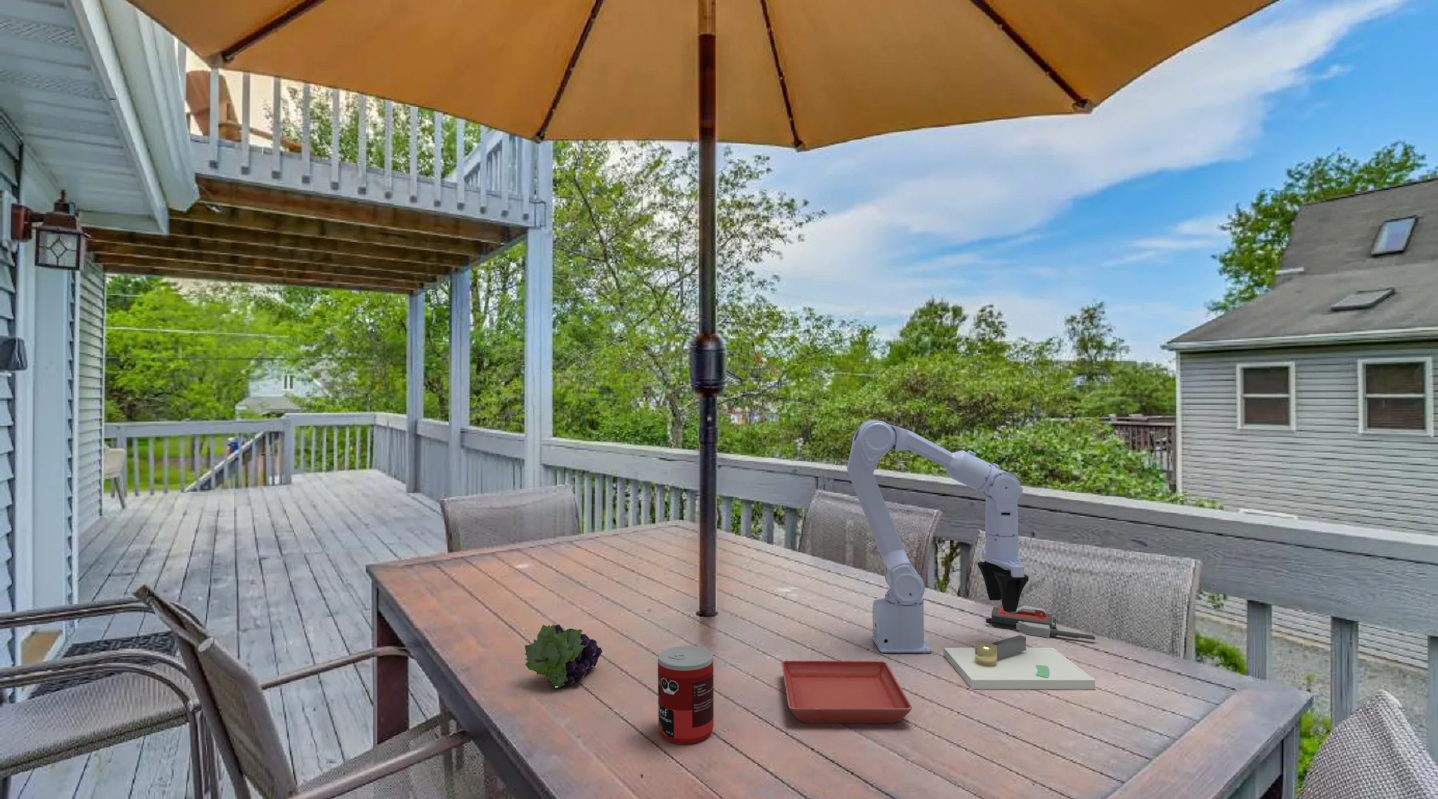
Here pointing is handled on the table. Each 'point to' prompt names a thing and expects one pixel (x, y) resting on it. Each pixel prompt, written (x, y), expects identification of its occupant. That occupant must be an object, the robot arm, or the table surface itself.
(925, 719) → the table surface
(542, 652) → the fruit
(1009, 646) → the dial lever
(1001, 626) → the walkie-talkie
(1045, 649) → the dial board
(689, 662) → the canned food
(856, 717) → the plant saucer
